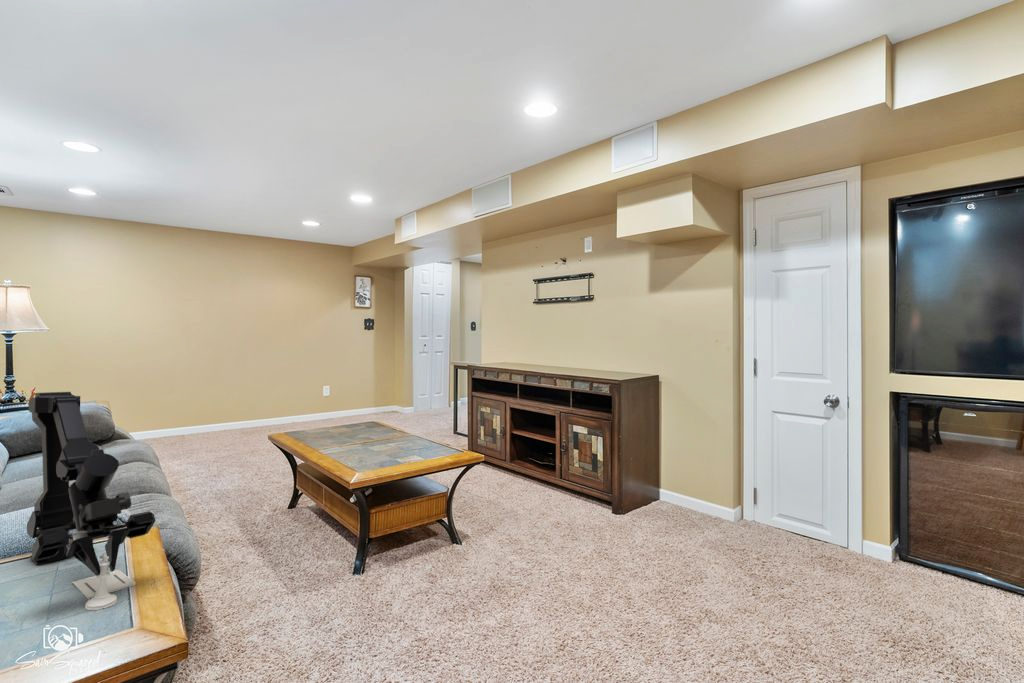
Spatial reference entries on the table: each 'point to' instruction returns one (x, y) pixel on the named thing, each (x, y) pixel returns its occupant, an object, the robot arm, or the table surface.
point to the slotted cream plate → (113, 581)
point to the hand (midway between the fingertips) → (105, 572)
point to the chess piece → (102, 589)
